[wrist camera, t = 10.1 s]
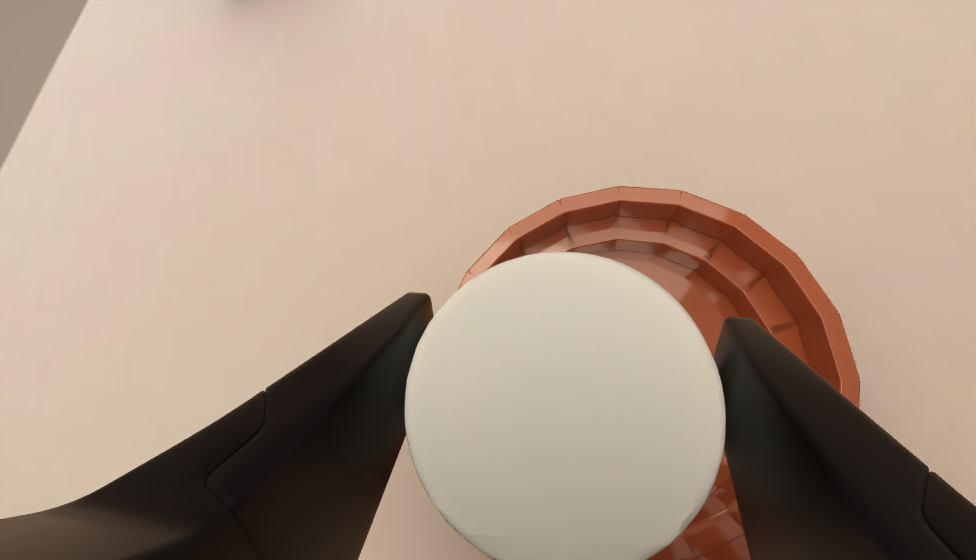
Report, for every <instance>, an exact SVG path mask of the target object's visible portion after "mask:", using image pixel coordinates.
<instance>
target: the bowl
mask: <svg viewBox="0 0 976 560" xmlns="http://www.w3.org/2000/svg"><path fill="white" fill-rule="evenodd" d="M549 252H578V253H586V254H592V255H597V256H601V257H605V258H609V259H612V260H615V261H617V262H620V263H622V264H625V265H627V266H629V267H631V268H633V269H635V270H637V271H639V272H641V273H642V274H644V275H646V276H647V277H649V278H650V279H652V280H653V281H655V282H656V283H657V284H659V285H660V286H661V287H662V288H664V289H665V290H666V291H667V292H668V293H670V294H671V295H672V296H673V297H674V298H675V299H676V300H677V301H678V302H679V303H680V304H681V306H682V307H683V308H684V309H685V310H686V311H687V313H688V314H689V315H690V317H691V318H692V320H693V321H694V322H695V324H696V325H697V327H698V329H699V330H700V332H701V334H702V335H703V337H704V339H705V341H706V343H707V345H708V347H709V350H710V352H711V354H712V357H713V359H714V354H715V349H716V345H717V342H718V339H719V335H720V332H721V328H722V325H723V322H724V320H725V319H726V318H727V317H729V316H732V317H746V318H752V319H753V320H755V321H756V322H757V323H759V324H760V325H761V326H762V327H763V328H764V329H766V330H767V331H768V332H769V333H770V334H772V335H773V336H774V337H775V338H776V339H777V340H779V341H780V342H781V343H782V344H783V345H785V346H786V347H787V348H788V349H789V350H790V351H792V352H793V353H794V354H795V355H796V356H798V357H799V358H800V359H801V360H802V361H803V362H805V363H806V364H807V365H808V366H809V367H810V368H812V369H813V370H814V371H815V372H816V373H818V374H819V375H820V376H821V377H822V378H823V379H825V380H826V381H827V382H828V383H829V384H831V385H832V386H833V387H834V388H835V389H836V390H838V391H839V392H840V393H841V394H842V395H844V396H845V397H846V398H847V399H848V400H849V401H851V402H852V403H853V404H854V405H855V406H857V407H858V408H859V400H860V381H859V380H860V378H859V375H858V372H857V369H856V365H855V362H854V359H853V356H852V353H851V349H850V346H849V343H848V340H847V337H846V333H845V330H844V327H843V324H842V320H841V317H840V314H839V313H837V312H838V311H837V310H836V308H835V307H834V305H833V304H832V302H831V301H830V300H829V298H828V297H827V295H826V294H825V293H824V291H823V290H822V288H821V287H820V286H819V284H818V283H817V281H816V280H815V279H814V277H813V276H812V274H811V273H810V272H809V270H808V269H807V267H806V266H805V264H804V263H803V262H802V260H801V259H800V257H798V256H797V254H796V253H795V252H793V251H792V250H791V249H789V248H788V247H787V246H785V245H784V244H783V243H782V242H780V241H779V240H778V239H776V238H775V237H774V236H772V235H771V234H770V233H768V232H767V231H766V230H765V229H763V228H762V227H761V226H759V225H758V224H757V223H755V222H754V221H753V220H751V219H750V218H749V217H747V216H746V215H745V214H744V215H743V214H742V213H740V212H737V211H735V210H732V209H729V208H727V207H724V206H721V205H719V204H716V203H713V202H711V201H708V200H706V199H703V198H700V197H698V196H695V195H692V194H690V193H687V192H684V191H680V190H668V189H654V188H641V187H627V186H619V187H618V186H616V187H611V188H607V189H602V190H598V191H593V192H589V193H584V194H580V195H575V196H571V197H566V198H562V199H560V200H557V201H555V202H553V203H551V204H550V205H548V206H546V207H544V208H543V209H541V210H539V211H537V212H536V213H534V214H532V215H530V216H529V217H527V218H525V219H523V220H521V221H520V222H518V223H516V224H514V225H513V226H511V227H509V228H508V229H507V230H505V231H504V233H503V234H502V235H501V236H500V237H499V238H498V239H497V240H496V241H495V242H494V243H493V244H492V245H491V246H490V247H489V248H488V250H487V251H486V252H485V253H484V254H483V255H482V256H481V257H480V258H479V259H478V260H477V261H476V262H475V263H474V264H473V265H472V267H471V268H470V269H469V270H468V272H466V274H465V276H464V278H463V280H462V282H461V284H460V286H459V289H460V288H461V287H462V286H463V285H464V284H465V283H466V282H468V281H469V280H471V279H473V278H474V277H476V276H478V275H479V274H481V273H483V272H484V271H486V270H488V269H489V268H491V267H493V266H495V265H498V264H500V263H503V262H505V261H509V260H512V259H515V258H519V257H523V256H526V255H531V254H538V253H549ZM459 289H458V290H459ZM648 560H751V559H750V555H749V551H748V547H747V542H746V538H745V534H744V530H743V526H742V522H741V517H740V513H739V509H738V505H737V501H736V496H735V492H734V488H733V484H732V480H731V476H730V471H729V467H728V463H727V459H726V455H725V450H723V457H722V460H721V463H720V467H719V470H718V473H717V477H716V480H715V483H714V485H713V487H712V489H711V491H710V493H709V495H708V498H707V500H706V501H705V503H704V505H703V506H702V508H701V510H700V511H699V513H698V514H697V515H696V516H695V518H694V519H693V520H692V521H691V522H690V524H689V525H688V526H687V527H686V529H685V530H684V531H683V532H682V533H681V534H680V535H679V536H678V537H677V538H676V539H675V540H674V541H673V542H672V543H671V544H669V545H668V546H667V547H666V548H665V549H663V550H662V551H660V552H659V553H657V554H656V555H654V556H652V557H651V558H649V559H648Z"/></svg>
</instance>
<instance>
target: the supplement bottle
mask: <svg viewBox="0 0 976 560" xmlns="http://www.w3.org/2000/svg"><path fill="white" fill-rule="evenodd" d="M405 427H406V435H407V440H408V445H409V449H410V453H411V457H412V460H413V463H414V466H415V469H416V471H417V474H418V476H419V478H420V481H421V483H422V485H423V486H424V488H425V490H426V492H427V494H428V496H429V498H430V499H431V501H432V502H433V504H434V505H435V507H436V508H437V509H438V511H439V512H440V513H441V515H442V516H443V517H444V519H445V520H446V521H447V522H448V524H449V525H450V526H452V527H453V528H454V529H455V530H456V531H457V532H458V533H459V534H460V535H461V536H462V537H463V538H464V539H465V540H467V541H468V542H469V543H470V544H472V545H473V546H474V547H475V548H477V549H478V550H480V551H481V552H482V553H484V554H485V555H487V556H489V557H490V558H492V559H494V560H648V559H649V558H651V557H652V556H654V555H656V554H657V553H659V552H660V551H662V550H663V549H665V548H666V547H667V546H668V545H669V544H671V543H672V542H673V541H674V540H675V539H676V538H677V537H678V536H679V535H680V534H681V533H682V532H683V531H684V530H685V529H686V527H687V526H688V525H689V524H690V522H691V521H692V520H693V519H694V518H695V516H696V515H697V514H698V513H699V511H700V510H701V508H702V506H703V505H704V503H705V501H706V500H707V498H708V495H709V493H710V491H711V489H712V487H713V485H714V483H715V480H716V477H717V473H718V470H719V467H720V463H721V460H722V457H723V450H724V443H725V429H726V411H725V401H724V394H723V388H722V383H721V380H720V376H719V372H718V369H717V366H716V363H715V361H714V359H713V357H712V354H711V352H710V350H709V347H708V345H707V343H706V341H705V339H704V337H703V335H702V334H701V332H700V330H699V329H698V327H697V325H696V324H695V322H694V321H693V320H692V318H691V317H690V315H689V314H688V313H687V311H686V310H685V309H684V308H683V307H682V306H681V304H680V303H679V302H678V301H677V300H676V299H675V298H674V297H673V296H672V295H671V294H670V293H668V292H667V291H666V290H665V289H664V288H662V287H661V286H660V285H659V284H657V283H656V282H655V281H653V280H652V279H650V278H649V277H647V276H646V275H644V274H642V273H641V272H639V271H637V270H635V269H633V268H631V267H629V266H627V265H625V264H622V263H620V262H617V261H615V260H612V259H609V258H605V257H601V256H597V255H592V254H586V253H578V252H549V253H538V254H531V255H526V256H523V257H519V258H515V259H512V260H509V261H505V262H503V263H500V264H498V265H495V266H493V267H491V268H489V269H488V270H486V271H484V272H483V273H481V274H479V275H478V276H476V277H474V278H473V279H471V280H469V281H468V282H466V283H465V284H464V285H463V286H462V287H461V288H460V289H459V290H458V291H457V292H456V293H454V294H453V295H452V296H451V297H450V298H449V299H448V300H447V301H446V302H445V303H444V305H443V306H442V307H441V308H440V309H439V310H438V312H437V313H436V314H435V316H434V317H433V318H432V320H431V321H430V322H429V324H428V326H427V328H426V330H425V331H424V333H423V335H422V337H421V339H420V341H419V343H418V345H417V347H416V350H415V354H414V357H413V360H412V363H411V367H410V370H409V374H408V377H407V384H406V392H405Z"/></svg>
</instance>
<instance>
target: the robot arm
mask: <svg viewBox="0 0 976 560" xmlns="http://www.w3.org/2000/svg"><path fill="white" fill-rule="evenodd" d="M433 317H434V316H433V310H432V303H431V299H430V296H429V295H428V294H426V293H413V292H411V293H407V294H405V295H404V296H402V297H401V298H399V299H398V300H396V301H395V302H393V303H392V304H390V305H389V306H387V307H386V308H384V309H383V310H382V311H380V312H379V313H377V314H376V315H374V316H373V317H371V318H370V319H368V320H367V321H365V322H364V323H362V324H361V325H359V326H358V327H356V328H355V329H353V330H352V331H350V332H349V333H347V334H346V335H344V336H343V337H341V338H340V339H339V340H337V341H336V342H334V343H333V344H331V345H330V346H328V347H327V348H325V349H324V350H322V351H321V352H319V353H318V354H316V355H315V356H313V357H312V358H310V359H309V360H307V361H306V362H304V363H303V364H301V365H300V366H298V367H297V368H296V369H294V370H293V371H291V372H290V373H288V374H287V375H285V376H284V377H282V378H281V379H279V380H278V381H276V382H275V383H273V384H272V385H270V386H269V387H267V388H266V392H265V391H261V392H260V393H258V394H257V395H255V396H254V397H252V398H251V399H249V400H248V401H246V402H245V403H243V404H242V405H240V406H239V407H237V408H236V409H234V410H233V411H231V412H229V413H228V414H226V415H225V416H223V417H222V418H220V419H219V420H217V421H215V422H214V423H212V424H210V425H209V426H207V427H205V428H204V429H202V430H200V431H199V432H197V433H195V434H194V435H192V436H190V437H189V438H187V439H185V440H184V441H182V442H180V443H179V444H177V445H175V446H173V447H172V448H170V449H168V450H166V451H165V452H163V453H161V454H159V455H158V456H156V457H154V458H153V459H151V460H149V461H147V462H146V463H144V464H142V465H140V466H139V467H137V468H135V469H133V470H132V471H130V472H128V473H127V474H125V475H123V476H121V477H120V478H118V479H116V480H114V481H113V482H111V483H109V484H107V485H106V486H104V487H102V488H100V489H98V490H97V491H95V492H93V493H91V494H89V495H87V496H85V497H82V498H80V499H78V500H76V501H73V502H70V503H68V504H65V505H62V506H59V507H56V508H52V509H49V510H45V511H42V512H37V513H32V514H27V515H21V516H16V517H10V518H5V519H0V560H358V558H359V556H360V553H361V550H362V548H363V545H364V543H365V540H366V537H367V535H368V532H369V530H370V527H371V524H372V522H373V519H374V517H375V514H376V511H377V509H378V506H379V504H380V501H381V498H382V496H383V493H384V491H385V488H386V485H387V483H388V480H389V478H390V475H391V472H392V470H393V467H394V464H395V462H396V459H397V457H398V454H399V451H400V449H401V446H402V444H403V441H404V438H405V436H406V427H405V392H406V384H407V377H408V374H409V370H410V367H411V363H412V360H413V357H414V354H415V350H416V347H417V345H418V343H419V341H420V339H421V337H422V335H423V333H424V331H425V330H426V328H427V326H428V324H429V322H430V321H431V320H432V318H433ZM714 361H715V363H716V366H717V369H718V372H719V376H720V380H721V383H722V388H723V394H724V401H725V411H726V429H725V443H724V450H725V455H726V459H727V463H728V467H729V471H730V476H731V480H732V484H733V488H734V492H735V496H736V501H737V505H738V509H739V513H740V517H741V522H742V526H743V530H744V534H745V538H746V542H747V547H748V551H749V555H750V559H751V560H976V507H975V506H974V505H973V504H972V503H971V502H969V501H968V500H967V499H966V498H964V497H963V496H962V495H961V494H960V493H958V492H957V491H956V490H955V489H954V488H952V487H951V486H950V485H949V484H948V483H947V482H945V481H944V480H943V479H942V478H941V477H939V476H938V475H937V474H936V473H934V472H929V468H928V467H927V466H926V465H925V464H924V463H923V462H921V461H920V460H919V459H918V458H917V457H916V456H914V455H913V454H912V453H911V452H910V451H908V450H907V449H906V448H905V447H904V446H903V445H901V444H900V443H899V442H898V441H897V440H896V439H894V438H893V437H892V436H891V435H890V434H888V433H887V432H886V431H885V430H884V429H883V428H881V427H880V426H879V425H878V424H877V423H875V422H874V421H873V420H872V419H871V418H870V417H868V416H867V415H866V414H865V413H864V412H862V411H861V410H860V409H859V408H858V407H857V406H855V405H854V404H853V403H852V402H851V401H849V400H848V399H847V398H846V397H845V396H844V395H842V394H841V393H840V392H839V391H838V390H836V389H835V388H834V387H833V386H832V385H831V384H829V383H828V382H827V381H826V380H825V379H823V378H822V377H821V376H820V375H819V374H818V373H816V372H815V371H814V370H813V369H812V368H810V367H809V366H808V365H807V364H806V363H805V362H803V361H802V360H801V359H800V358H799V357H798V356H796V355H795V354H794V353H793V352H792V351H790V350H789V349H788V348H787V347H786V346H785V345H783V344H782V343H781V342H780V341H779V340H777V339H776V338H775V337H774V336H773V335H772V334H770V333H769V332H768V331H767V330H766V329H764V328H763V327H762V326H761V325H760V324H759V323H757V322H756V321H755V320H753V319H752V318H746V317H732V316H729V317H727V318H726V319H725V320H724V322H723V325H722V328H721V332H720V335H719V339H718V342H717V345H716V349H715V354H714Z"/></svg>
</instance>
